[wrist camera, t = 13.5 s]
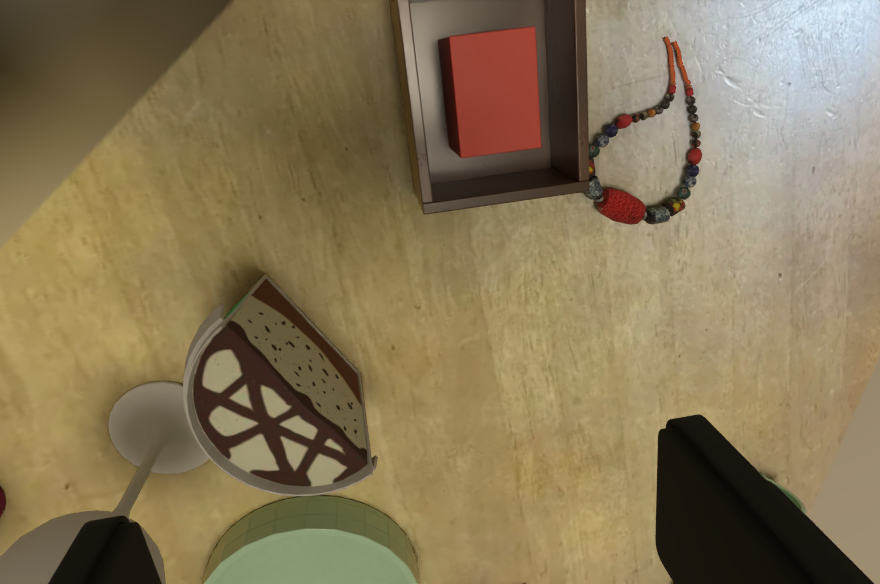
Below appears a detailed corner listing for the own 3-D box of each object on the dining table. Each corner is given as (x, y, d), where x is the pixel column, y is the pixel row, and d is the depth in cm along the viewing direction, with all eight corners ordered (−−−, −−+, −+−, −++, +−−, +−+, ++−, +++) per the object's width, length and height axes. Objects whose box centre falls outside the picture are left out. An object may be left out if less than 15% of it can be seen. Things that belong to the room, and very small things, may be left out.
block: (437, 39, 34) (448, 36, 29) (513, 30, 34) (535, 25, 30) (449, 147, 36) (460, 158, 32) (520, 138, 36) (541, 147, 32)
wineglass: (165, 492, 42) (1, 856, 23) (81, 421, 40) (-188, 765, 20) (248, 433, 42) (150, 758, 22) (167, 357, 39) (-26, 650, 19)
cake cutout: (175, 313, 38) (116, 394, 29) (249, 255, 37) (212, 318, 28) (306, 437, 42) (291, 542, 33) (374, 387, 42) (378, 480, 32)
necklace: (556, 198, 38) (568, 202, 36) (629, 24, 36) (645, 19, 34) (659, 239, 40) (675, 245, 38) (734, 76, 38) (755, 74, 36)
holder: (388, -6, 33) (394, -19, 28) (550, -24, 34) (585, -40, 29) (414, 194, 37) (423, 215, 32) (558, 174, 38) (590, 191, 33)
